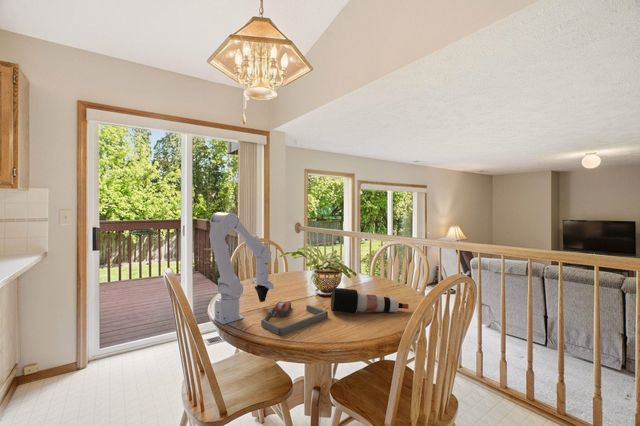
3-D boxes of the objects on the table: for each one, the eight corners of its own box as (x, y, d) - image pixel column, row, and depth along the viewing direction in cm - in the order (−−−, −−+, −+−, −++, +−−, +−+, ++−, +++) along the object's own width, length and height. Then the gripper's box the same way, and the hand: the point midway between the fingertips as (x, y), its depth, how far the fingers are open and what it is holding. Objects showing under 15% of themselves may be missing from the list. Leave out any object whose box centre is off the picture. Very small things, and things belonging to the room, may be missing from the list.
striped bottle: (407, 323, 130) (414, 306, 125) (331, 316, 128) (335, 299, 123) (401, 306, 139) (407, 289, 134) (330, 299, 137) (333, 282, 132)
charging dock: (280, 336, 106) (280, 329, 106) (261, 326, 115) (261, 319, 115) (327, 317, 124) (327, 311, 124) (308, 310, 133) (308, 304, 133)
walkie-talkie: (273, 306, 138) (262, 324, 118) (273, 297, 138) (262, 313, 118) (292, 307, 138) (283, 324, 118) (292, 298, 137) (283, 313, 118)
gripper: (278, 273, 133) (278, 303, 134) (260, 268, 144) (260, 296, 144) (266, 275, 128) (266, 306, 129) (247, 270, 138) (247, 299, 139)
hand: (262, 301), depth 136 cm, fingers closed
